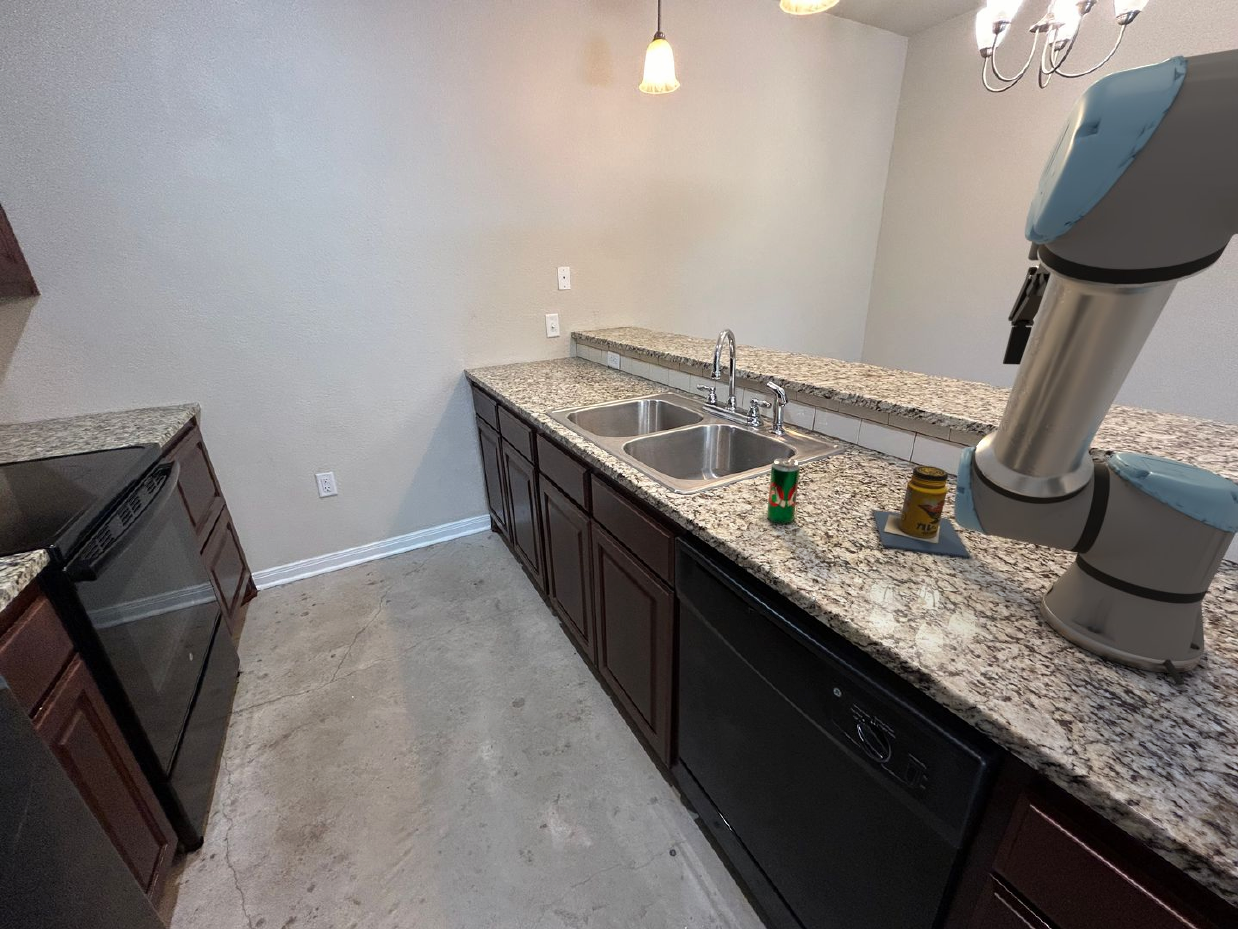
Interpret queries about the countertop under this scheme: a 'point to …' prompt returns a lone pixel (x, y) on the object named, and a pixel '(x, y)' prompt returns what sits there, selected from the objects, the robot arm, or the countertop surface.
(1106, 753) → the countertop surface
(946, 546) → the blue mat
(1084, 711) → the countertop surface
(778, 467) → the soda can
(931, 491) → the condiment
